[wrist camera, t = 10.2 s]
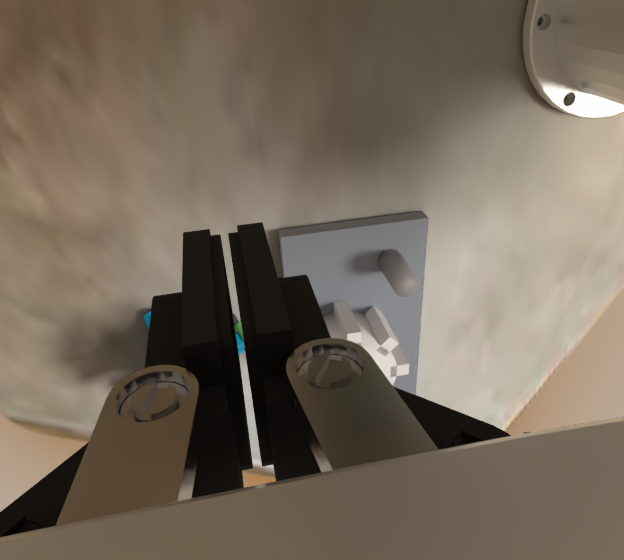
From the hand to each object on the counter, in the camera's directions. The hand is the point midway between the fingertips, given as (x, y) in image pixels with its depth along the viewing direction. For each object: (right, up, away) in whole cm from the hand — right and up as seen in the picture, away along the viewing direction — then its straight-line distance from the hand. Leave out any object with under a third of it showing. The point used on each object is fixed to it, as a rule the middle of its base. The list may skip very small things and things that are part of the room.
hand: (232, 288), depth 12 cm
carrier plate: (+5, -4, +31) cm, 32 cm away
